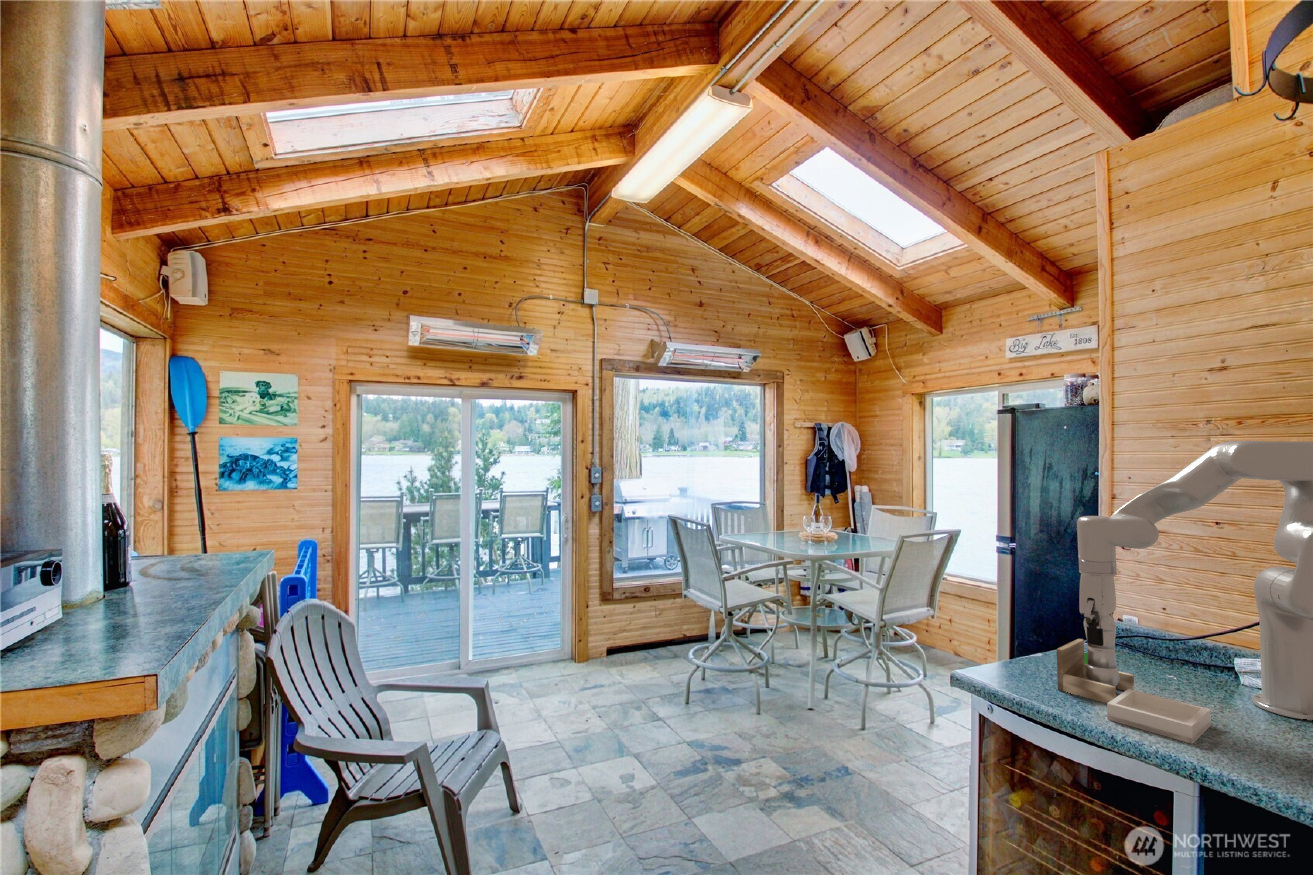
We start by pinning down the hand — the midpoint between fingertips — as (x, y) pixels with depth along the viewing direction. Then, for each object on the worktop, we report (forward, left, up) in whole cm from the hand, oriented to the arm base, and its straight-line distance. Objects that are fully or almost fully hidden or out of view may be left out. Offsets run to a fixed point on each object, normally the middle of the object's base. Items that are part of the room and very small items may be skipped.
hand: (1100, 640), depth 152 cm
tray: (-14, +10, -12) cm, 21 cm away
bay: (0, 0, -12) cm, 12 cm away
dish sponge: (+8, -17, -13) cm, 23 cm away
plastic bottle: (0, 0, -11) cm, 11 cm away
